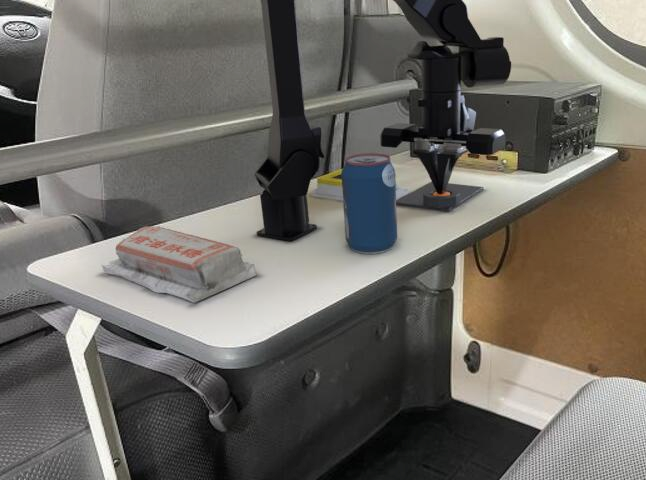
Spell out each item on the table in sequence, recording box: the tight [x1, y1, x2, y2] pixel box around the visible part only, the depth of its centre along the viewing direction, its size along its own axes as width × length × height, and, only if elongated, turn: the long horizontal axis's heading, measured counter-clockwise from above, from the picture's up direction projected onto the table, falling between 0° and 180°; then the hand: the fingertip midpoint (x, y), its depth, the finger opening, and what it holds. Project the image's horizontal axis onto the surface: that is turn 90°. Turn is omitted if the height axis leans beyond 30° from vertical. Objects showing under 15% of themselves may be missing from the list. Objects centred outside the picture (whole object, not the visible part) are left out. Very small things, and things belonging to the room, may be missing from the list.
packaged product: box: [101, 225, 257, 303], centre depth 77 cm, size 18×5×10 cm
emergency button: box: [310, 168, 409, 202], centre depth 108 cm, size 9×4×15 cm
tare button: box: [433, 191, 450, 196], centre depth 100 cm, size 3×3×2 cm
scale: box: [396, 181, 485, 213], centre depth 104 cm, size 14×10×2 cm
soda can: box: [341, 152, 398, 255], centre depth 82 cm, size 7×7×12 cm
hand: (441, 193), depth 100 cm, fingers closed, pressing on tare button
